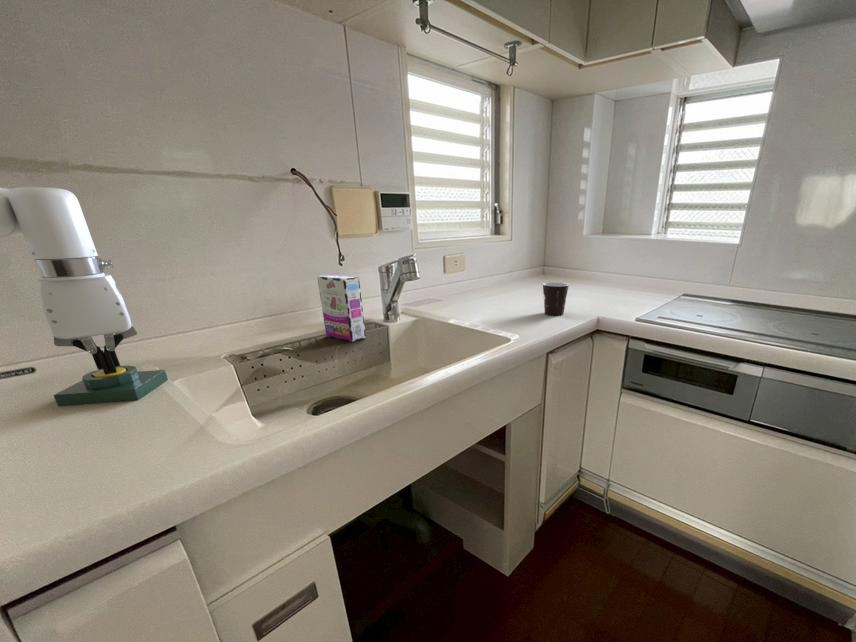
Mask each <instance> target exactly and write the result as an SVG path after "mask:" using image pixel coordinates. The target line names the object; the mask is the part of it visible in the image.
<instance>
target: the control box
mask: <svg viewBox="0 0 856 642" xmlns="http://www.w3.org/2000/svg"><path fill="white" fill-rule="evenodd" d="M116 368H125V369H126V372H124V373H121V374H118V375H114V376H108V377H99V378H95V377H94V376H93V374H94V373H96V372H98V371H101V370H103V369H100V370H98V369H96V370H93V371H89V372H88V373H86V374H84V375H82V376H81V377H82V378H81V379H82V380H81V381H78V382H76V383H74V384H71V385H70V386H69V387H67V388H64V389H63V390H60V391H58V392H57V393H55V394H53V398H54V400H55V402H56V405H57V406H58V407H69V406H70V407H71V406H82V405H95V404H96V405H97V404H107V403H108V404H110V403H124V402H136V401H140V400H141V399H143V398H145V396H147V395H148V394H150V393H151V392H153V391H154V390H156V389H157V388H159V387H160V386H162V385H163V384H165V383H166V382H167V381H168V380H169V378H168V376H167V372H166V369H157V370H156V369H155V370H141V371H140V370H139V371H138V369H137V367H136V366H134V365H120V366H117V367H116Z"/></svg>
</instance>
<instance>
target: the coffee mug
mask: <svg viewBox="0 0 856 642" xmlns="http://www.w3.org/2000/svg"><path fill="white" fill-rule="evenodd" d="M569 285H570V284H569V283H566V282H558V281H556V282H555V281H554V282H553V281H552V282H551V281H550V282H543V283H542V289H543V290H542V292H543V293H542V294H543V307H544V315H545V316H551V317H552V316H553V317H561V316H563V315H564V312H565V308H566V303H567V297H568V290H569Z"/></svg>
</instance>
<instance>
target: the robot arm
mask: <svg viewBox="0 0 856 642" xmlns="http://www.w3.org/2000/svg"><path fill="white" fill-rule="evenodd" d="M78 199H79V198H77V196H76V195H75V194H74V193H73V192H72V191H70V190H68V189H65V188H58V187H43V186H39V187H38V186H21V187H20V186H19V187H18V186H17V187H13V188H6V187H0V239H3V238H15V237H23V236H24V239H25V242H26V244H27V247H28V249H29V251H30V254H31V256H32V259H33V261H34V263H35V266H36V268H37V271H38V273H39V275H40V278H38V279H36V287H37V292H38V296H39V297H38V298H39V301H40V304H41V307H42V310H43V314H44V317H45V320H46V322H47V325H48V328H49V329H50V332H51V334H52V335H53V344H54V346H56V347H75V348H77V349H80V350H82V351H85V352H86V353H88V354H90V355H91V356H92V358H93V361H94V363H95V366H96V368H97V369H96V370H100V369H103V371H104V373H105V374H109V373H110V371H111V372H113V373H115V372H117V369H116V367H117V366H121V364H120V360H119V357H118V355H117V353H116V348H117V347H118V346H119V344H121V342H122V341H123V340H126V339H129V338H132V337H135V336H137V335H138V331H137V329H136V328H135V326H134V325H133V324H132V319H131V316H130V315H131V314H130V313H129V310H128V308H127V305H126V302H125V300H124V298H123V297H124V296H123V295H122V293H121V290H120V289H119V287H118V284H117V283H116V281H115V280H114V278H113V276H112V275H111V273H110V274H109V273H105V272H104V271H106V270H108V269H111V268H114V265H113V261H112V260H111V259H105V258H101V257H100V256H99V253H98V251H97V249H96V247H95V243H94V241H93V238H92V235H91V232H90V229H89V227H88V224H87V221H86V218H85V216H84V213H83V210H82V207H81V204H80V202H79V200H78ZM98 336H103V338H104V339H103V340H104V344H105V345H104V346H103V349H101V347H100V346H98V345H97V343H96V342H95V340H94V339H93V337H98Z"/></svg>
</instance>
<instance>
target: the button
mask: <svg viewBox="0 0 856 642" xmlns="http://www.w3.org/2000/svg"><path fill="white" fill-rule="evenodd" d="M116 369H117V372H115V373H113V372H111V371H110V373H109V374H105V373H104V371H103V370H101V371H98V372H96V373H94V374H93V376H94V377H95V378H99V377H108V376H114V375H118V374H121V373H124V372H126V369H125V368H116Z"/></svg>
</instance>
